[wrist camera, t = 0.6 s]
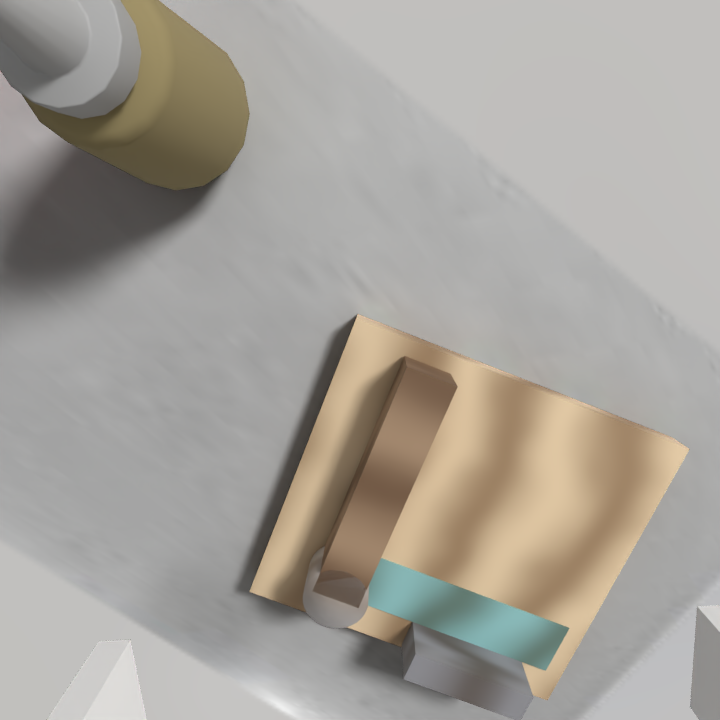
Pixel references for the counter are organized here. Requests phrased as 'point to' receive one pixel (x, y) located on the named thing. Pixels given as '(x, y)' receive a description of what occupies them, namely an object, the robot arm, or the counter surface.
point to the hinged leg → (377, 494)
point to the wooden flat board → (477, 520)
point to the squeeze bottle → (127, 85)
